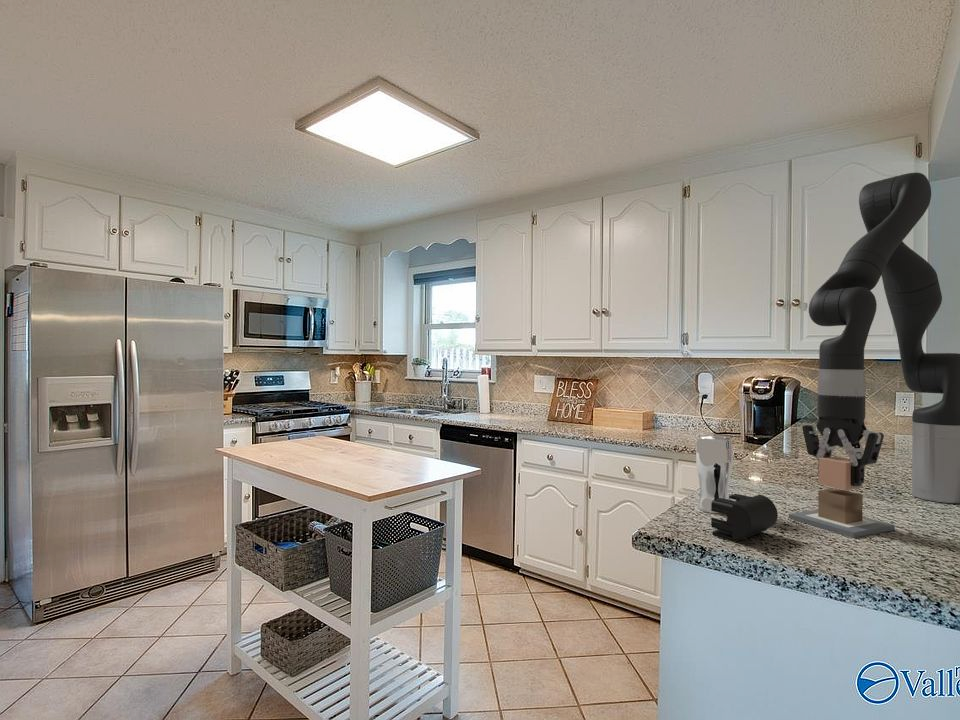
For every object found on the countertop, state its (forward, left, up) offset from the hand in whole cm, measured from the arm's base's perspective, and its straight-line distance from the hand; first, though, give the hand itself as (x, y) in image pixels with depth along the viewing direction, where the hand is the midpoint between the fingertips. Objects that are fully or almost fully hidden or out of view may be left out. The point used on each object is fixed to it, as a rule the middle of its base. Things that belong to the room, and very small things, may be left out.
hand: (840, 482), depth 98 cm
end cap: (+23, -2, -8) cm, 25 cm away
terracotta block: (0, 0, -1) cm, 1 cm away
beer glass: (+15, -16, -8) cm, 23 cm away
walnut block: (0, 0, -7) cm, 7 cm away
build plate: (0, 0, -8) cm, 8 cm away
